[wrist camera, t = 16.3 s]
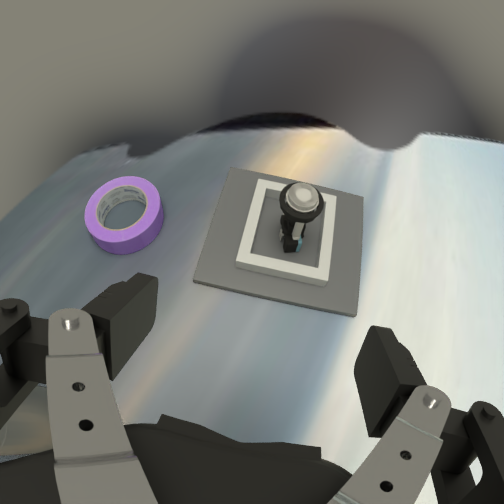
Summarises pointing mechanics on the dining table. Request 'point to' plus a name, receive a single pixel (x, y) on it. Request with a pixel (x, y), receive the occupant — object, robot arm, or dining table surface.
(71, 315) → the robot arm
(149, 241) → the masking tape
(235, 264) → the plate
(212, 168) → the dining table surface
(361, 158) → the dining table surface
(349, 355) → the dining table surface
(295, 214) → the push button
